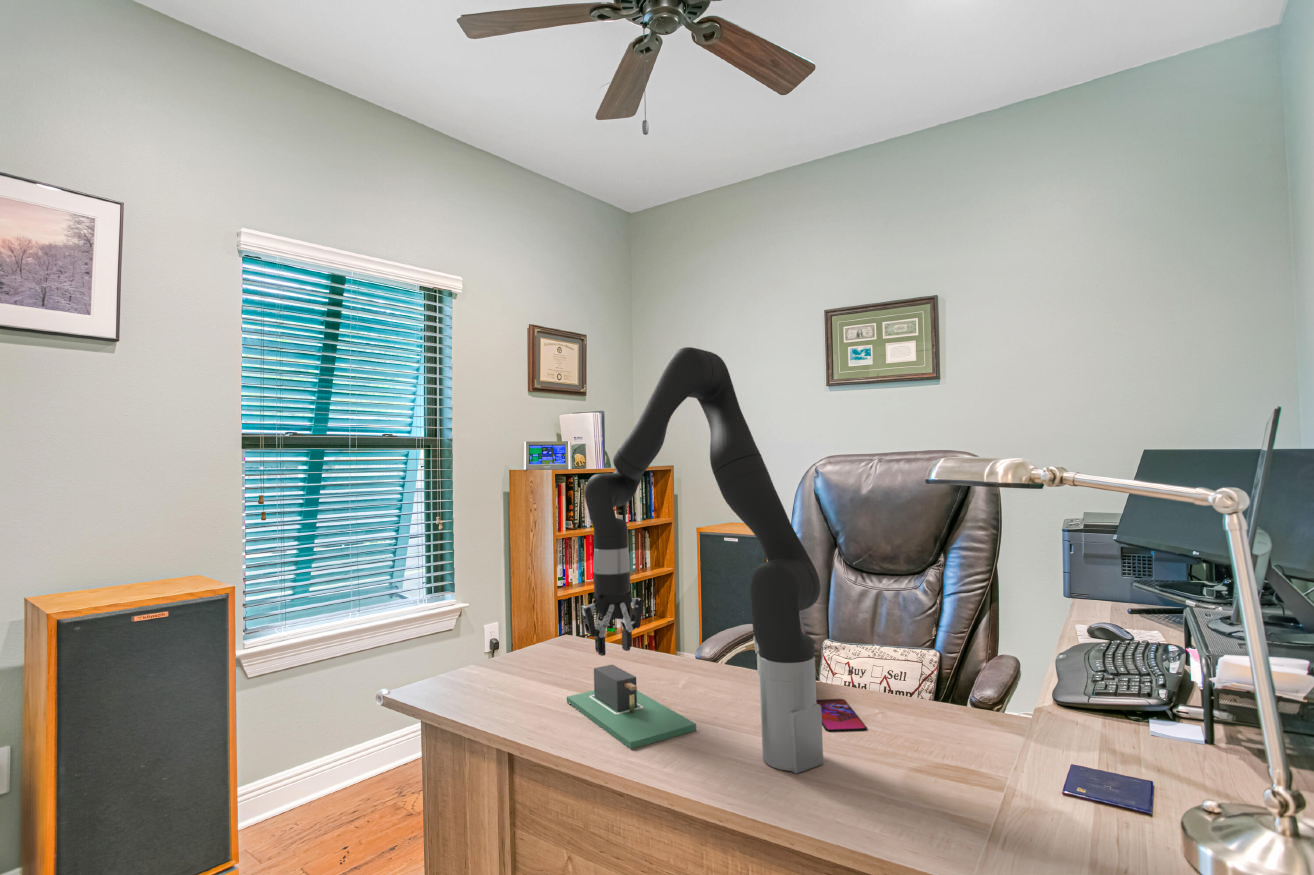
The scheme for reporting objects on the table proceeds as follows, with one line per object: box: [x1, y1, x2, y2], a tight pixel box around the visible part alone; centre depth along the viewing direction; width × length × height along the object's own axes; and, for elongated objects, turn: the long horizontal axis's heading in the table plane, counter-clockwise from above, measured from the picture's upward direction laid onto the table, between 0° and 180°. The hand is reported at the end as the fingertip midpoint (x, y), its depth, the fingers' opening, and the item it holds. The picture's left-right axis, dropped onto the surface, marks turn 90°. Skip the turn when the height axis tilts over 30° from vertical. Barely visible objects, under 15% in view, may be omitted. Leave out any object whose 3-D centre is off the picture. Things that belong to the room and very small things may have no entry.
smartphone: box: [816, 698, 867, 733], centre depth 129 cm, size 8×1×15 cm
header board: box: [566, 690, 697, 750], centre depth 132 cm, size 28×14×1 cm, turn 31°
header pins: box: [629, 694, 635, 713], centre depth 137 cm, size 15×1×4 cm, turn 31°
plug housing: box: [593, 664, 638, 712], centre depth 135 cm, size 13×4×6 cm, turn 31°
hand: (614, 651), depth 137 cm, fingers open, 5 cm apart
